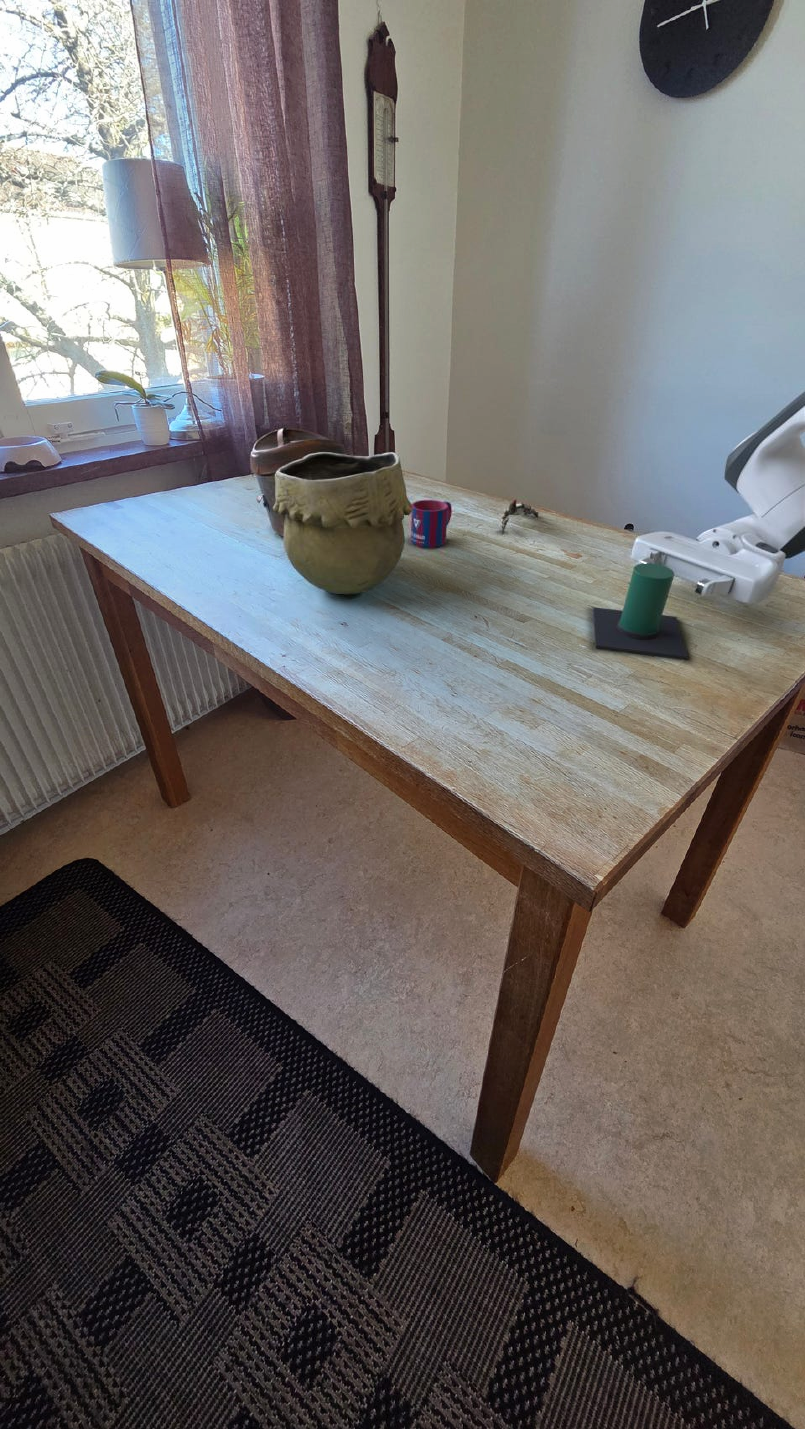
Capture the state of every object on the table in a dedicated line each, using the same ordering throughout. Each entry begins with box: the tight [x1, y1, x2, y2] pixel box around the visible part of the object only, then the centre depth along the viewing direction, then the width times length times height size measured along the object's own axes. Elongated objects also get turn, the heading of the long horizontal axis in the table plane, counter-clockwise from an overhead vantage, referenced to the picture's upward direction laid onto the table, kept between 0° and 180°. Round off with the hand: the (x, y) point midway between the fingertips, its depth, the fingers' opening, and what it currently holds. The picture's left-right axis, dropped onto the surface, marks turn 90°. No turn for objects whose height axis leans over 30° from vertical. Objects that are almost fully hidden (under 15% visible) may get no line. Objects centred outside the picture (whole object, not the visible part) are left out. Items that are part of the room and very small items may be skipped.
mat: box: [592, 607, 689, 661], centre depth 86 cm, size 12×12×1 cm
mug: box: [410, 499, 453, 549], centre depth 113 cm, size 7×10×7 cm
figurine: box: [499, 499, 540, 533], centre depth 121 cm, size 6×4×15 cm
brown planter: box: [249, 426, 348, 537], centre depth 113 cm, size 18×20×18 cm
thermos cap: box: [617, 563, 675, 639], centre depth 83 cm, size 6×6×9 cm
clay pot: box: [273, 452, 412, 595], centre depth 91 cm, size 21×21×20 cm
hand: (670, 577), depth 85 cm, fingers open, 8 cm apart
